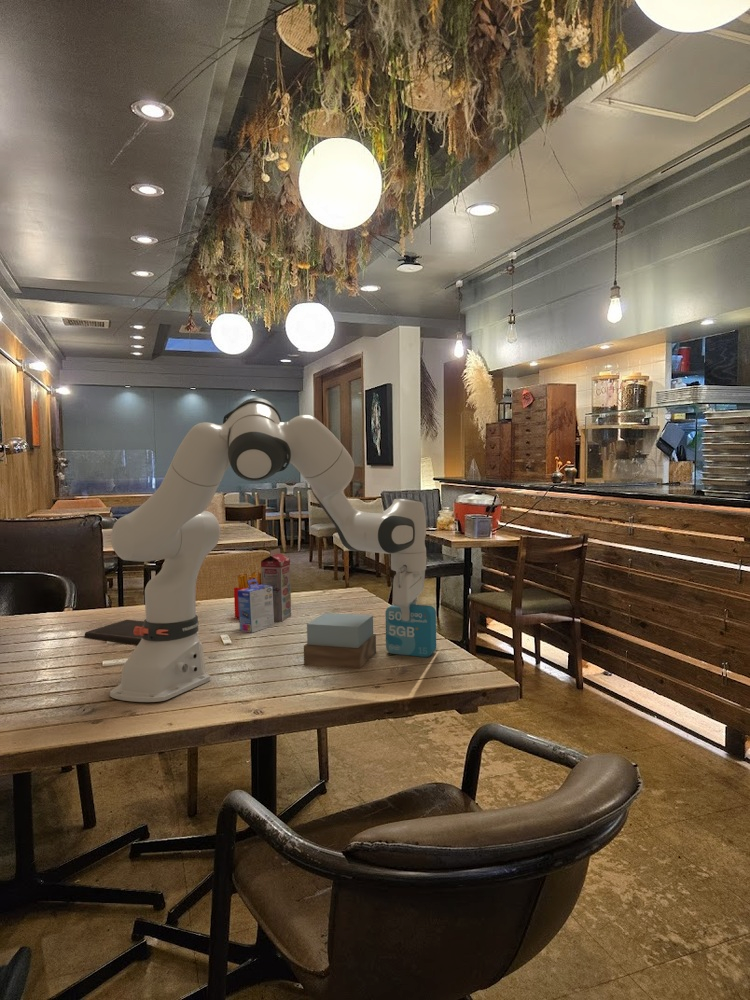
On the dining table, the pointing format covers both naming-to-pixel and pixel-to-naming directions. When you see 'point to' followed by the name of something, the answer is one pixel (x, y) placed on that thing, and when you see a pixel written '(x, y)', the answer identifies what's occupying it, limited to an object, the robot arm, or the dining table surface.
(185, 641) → the robot arm
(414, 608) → the data package
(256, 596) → the ink cartridge box
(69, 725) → the dining table surface
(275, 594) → the juice carton
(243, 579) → the french fries container
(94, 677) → the dining table surface
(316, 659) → the walnut base block
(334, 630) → the slate top block
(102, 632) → the hardcover book
